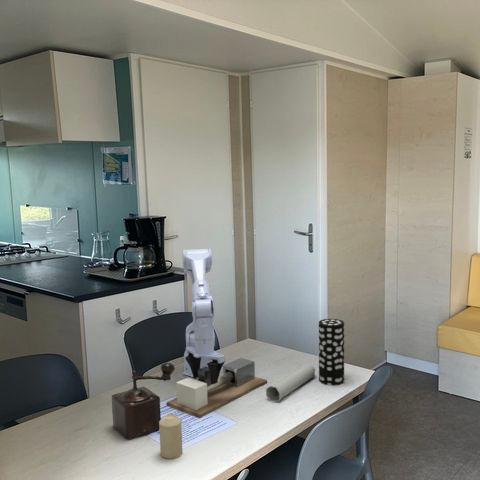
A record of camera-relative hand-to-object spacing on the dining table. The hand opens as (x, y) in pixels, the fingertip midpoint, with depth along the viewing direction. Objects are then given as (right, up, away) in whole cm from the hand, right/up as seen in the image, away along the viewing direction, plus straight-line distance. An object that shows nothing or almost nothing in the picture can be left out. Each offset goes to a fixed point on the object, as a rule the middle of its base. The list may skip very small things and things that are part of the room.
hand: (205, 380), depth 170 cm
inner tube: (+2, -4, +2) cm, 5 cm away
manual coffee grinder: (-16, -9, -15) cm, 24 cm away
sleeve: (+10, -4, +13) cm, 17 cm away
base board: (+4, -6, +5) cm, 9 cm away
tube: (+28, -5, +9) cm, 30 cm away
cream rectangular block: (-4, -7, -4) cm, 9 cm away
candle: (-7, -11, -30) cm, 33 cm away
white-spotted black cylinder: (+41, -4, +14) cm, 44 cm away
